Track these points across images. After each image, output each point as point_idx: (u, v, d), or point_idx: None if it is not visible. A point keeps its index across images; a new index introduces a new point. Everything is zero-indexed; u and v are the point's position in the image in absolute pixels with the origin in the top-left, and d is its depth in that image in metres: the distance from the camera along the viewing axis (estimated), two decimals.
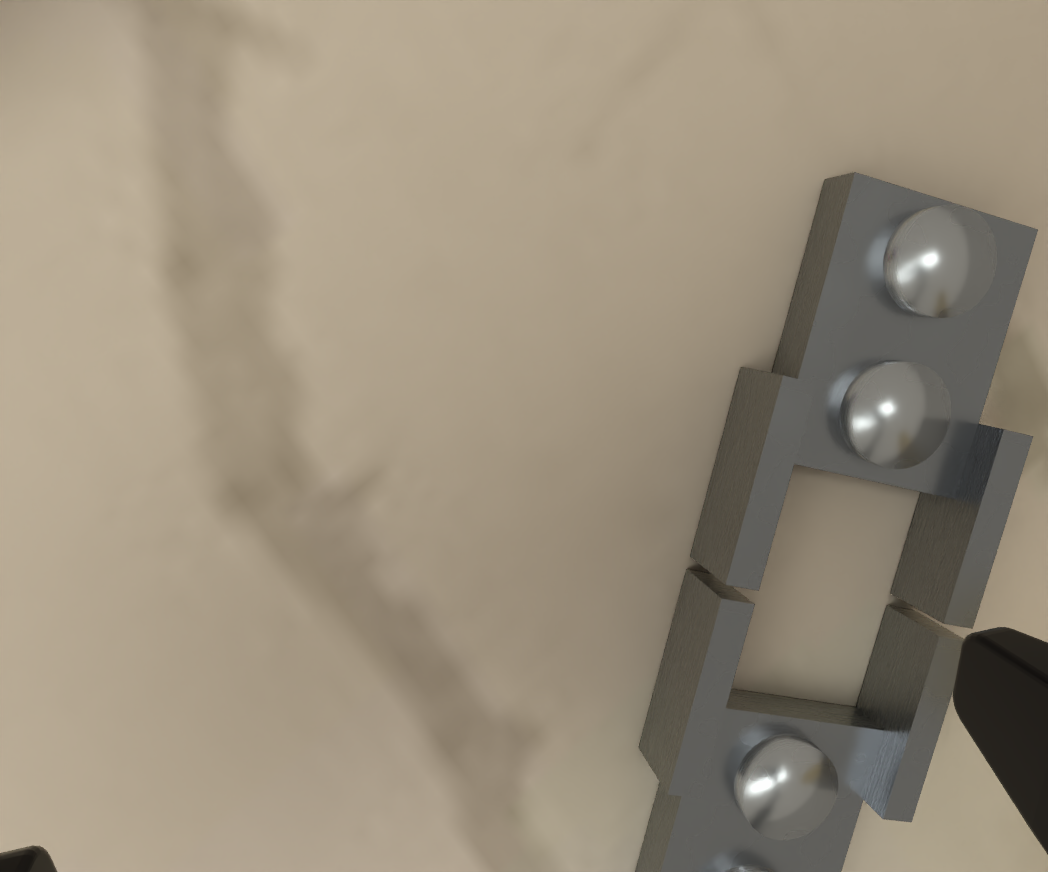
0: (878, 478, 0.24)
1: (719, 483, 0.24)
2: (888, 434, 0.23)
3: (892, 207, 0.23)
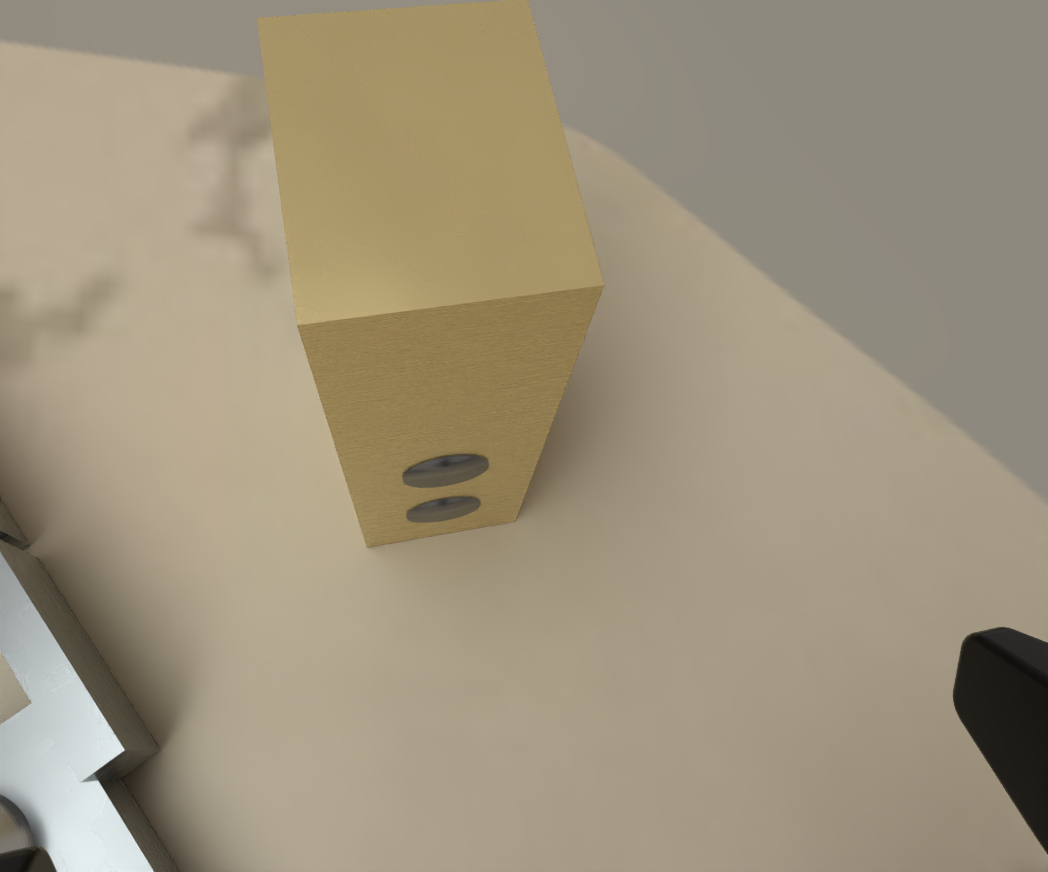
0: None
1: None
2: None
3: None
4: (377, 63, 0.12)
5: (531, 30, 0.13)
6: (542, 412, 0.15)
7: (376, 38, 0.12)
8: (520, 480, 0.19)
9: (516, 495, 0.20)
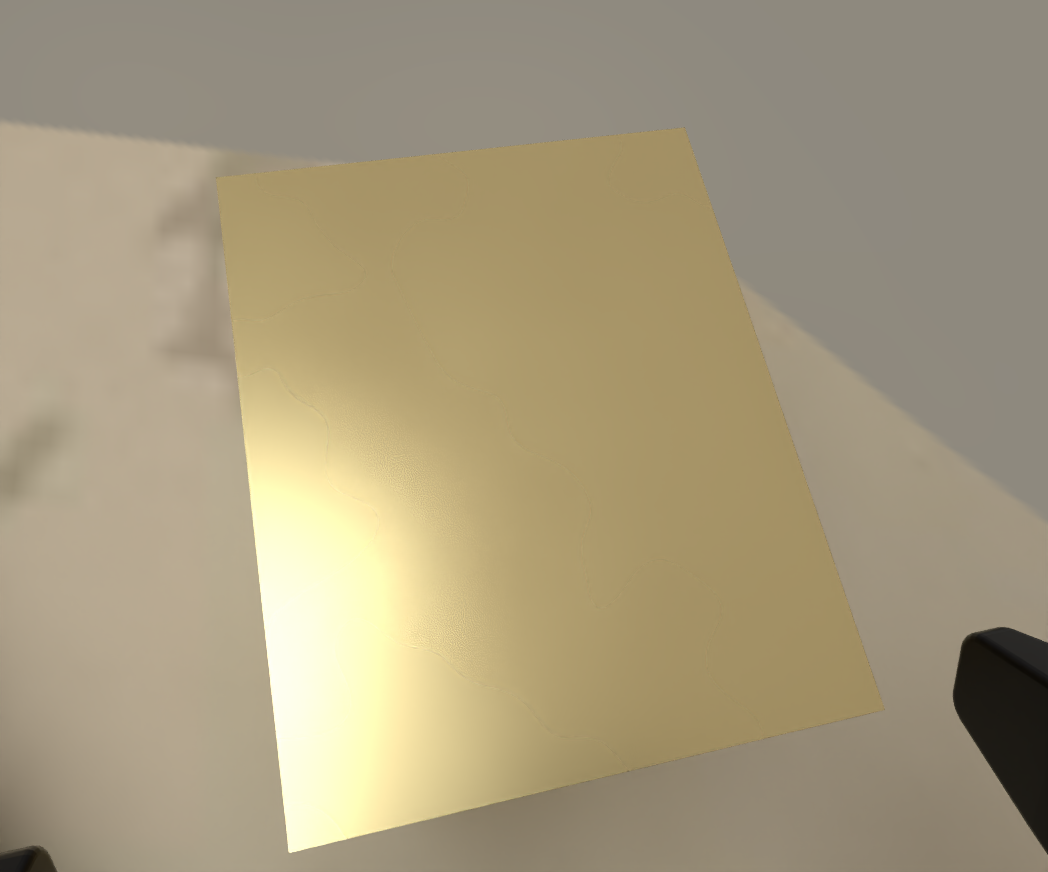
0: None
1: None
2: None
3: None
4: (433, 258, 0.07)
5: (696, 185, 0.07)
6: None
7: (429, 209, 0.07)
8: None
9: None
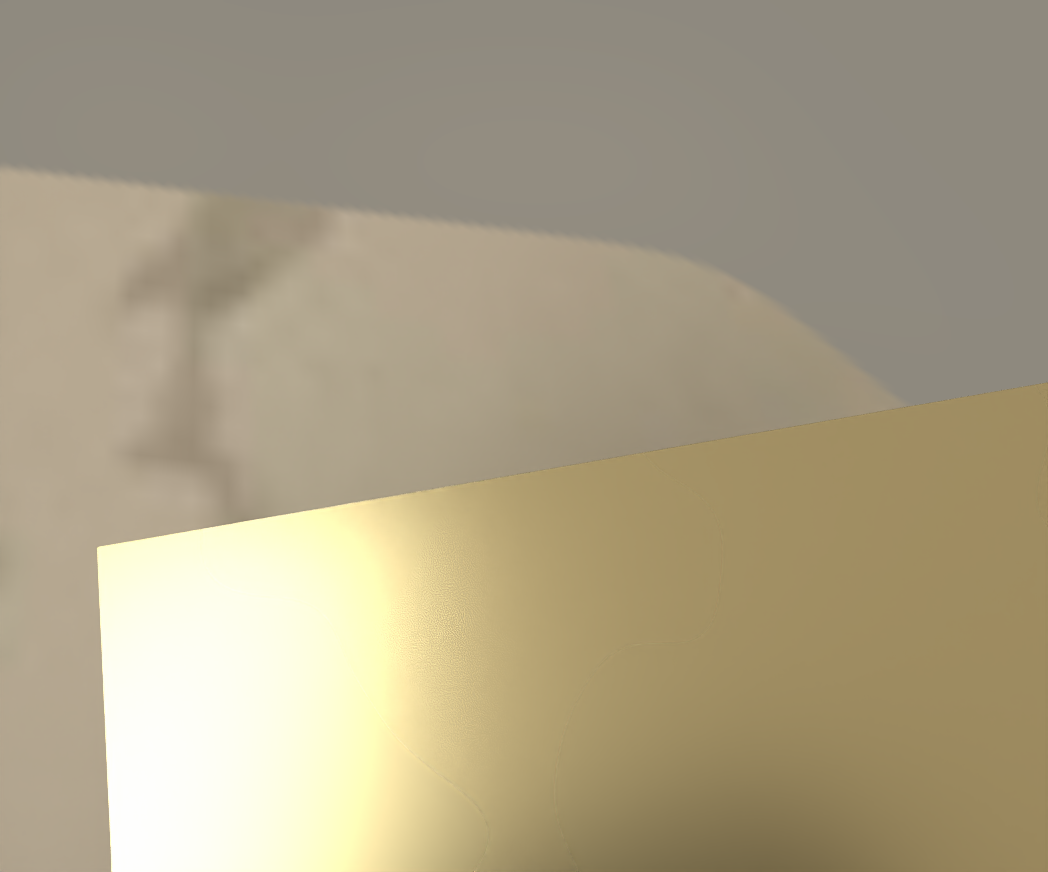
0: None
1: None
2: None
3: None
4: (657, 767, 0.03)
5: None
6: None
7: (636, 616, 0.03)
8: None
9: None
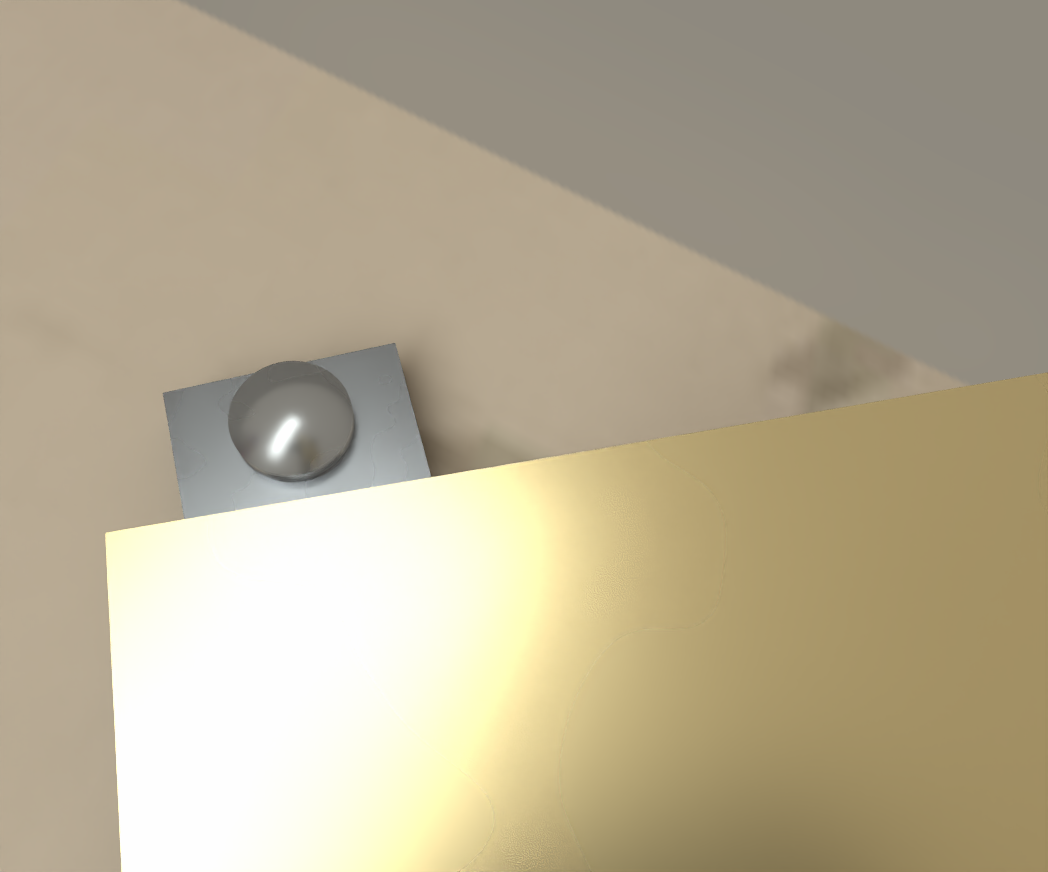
0: None
1: None
2: None
3: (221, 401, 0.21)
4: (661, 751, 0.03)
5: None
6: None
7: (640, 602, 0.03)
8: None
9: None
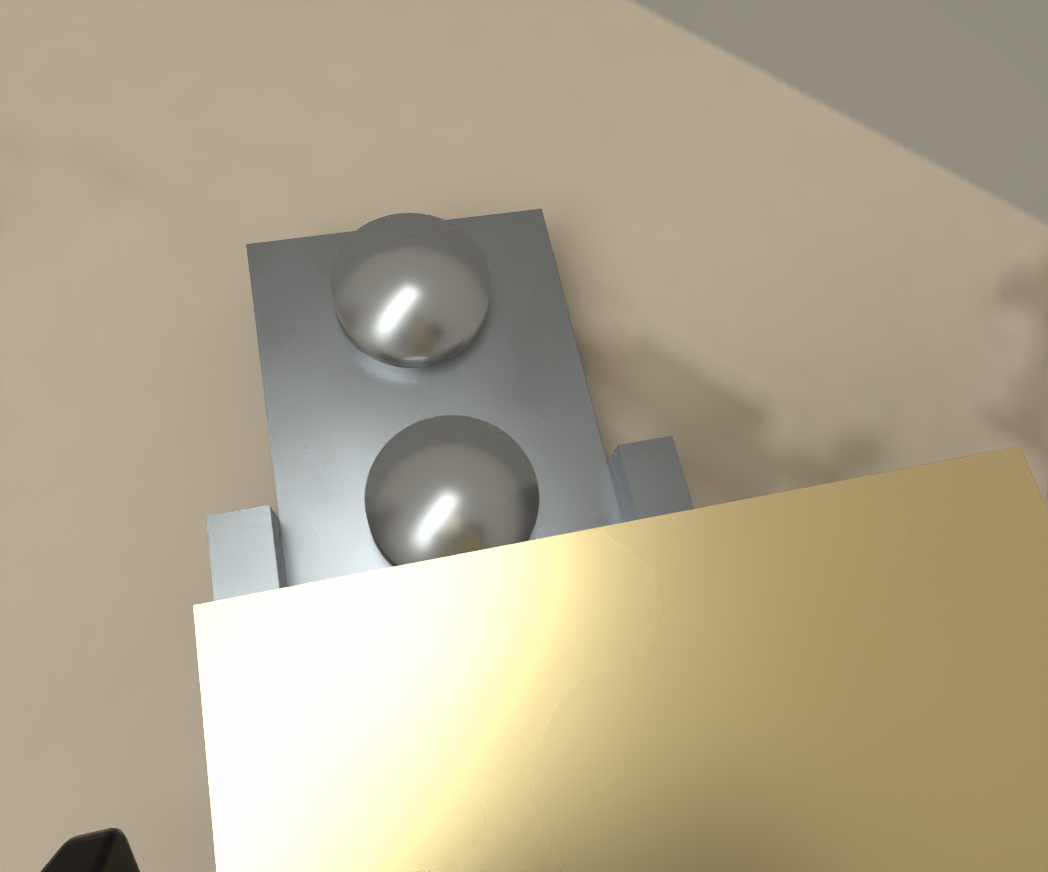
0: None
1: None
2: (443, 531, 0.14)
3: (320, 260, 0.17)
4: (609, 766, 0.04)
5: None
6: None
7: (595, 653, 0.04)
8: None
9: None
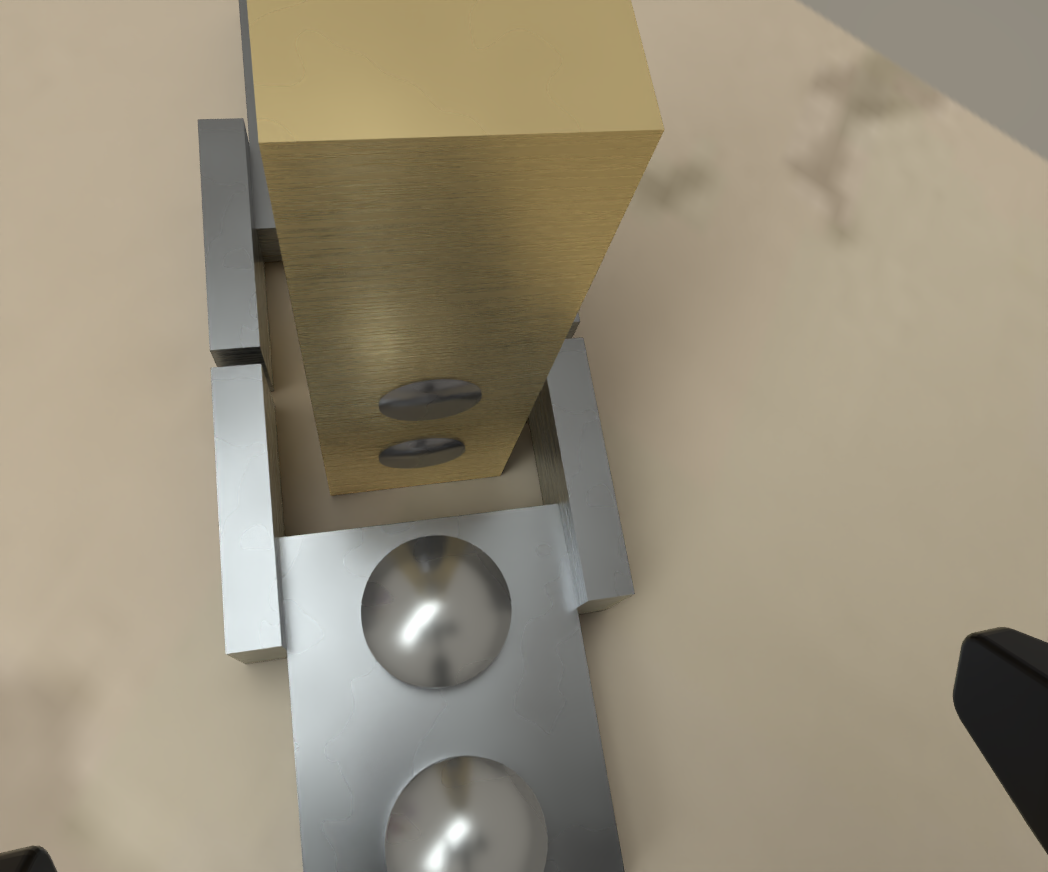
0: None
1: None
2: None
3: None
4: None
5: None
6: (553, 325, 0.13)
7: None
8: (514, 421, 0.17)
9: (506, 441, 0.18)
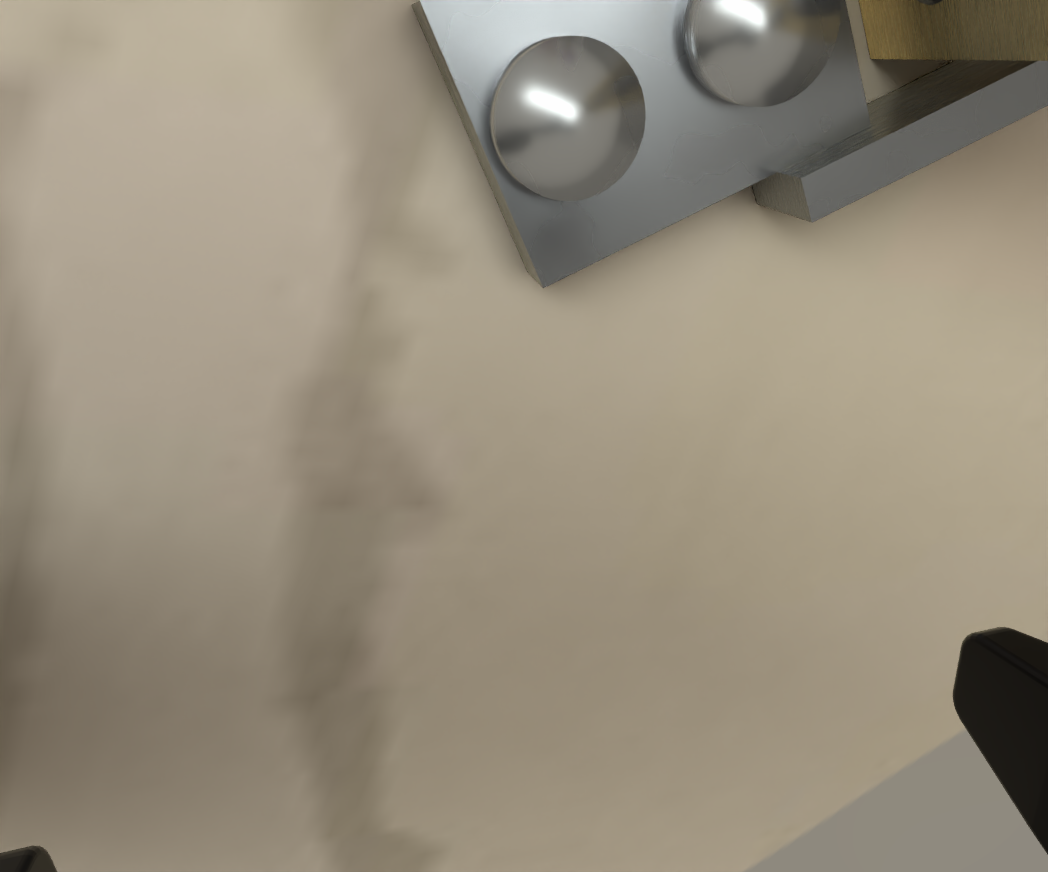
0: None
1: None
2: None
3: None
4: None
5: None
6: None
7: None
8: (988, 47, 0.16)
9: (945, 48, 0.17)
